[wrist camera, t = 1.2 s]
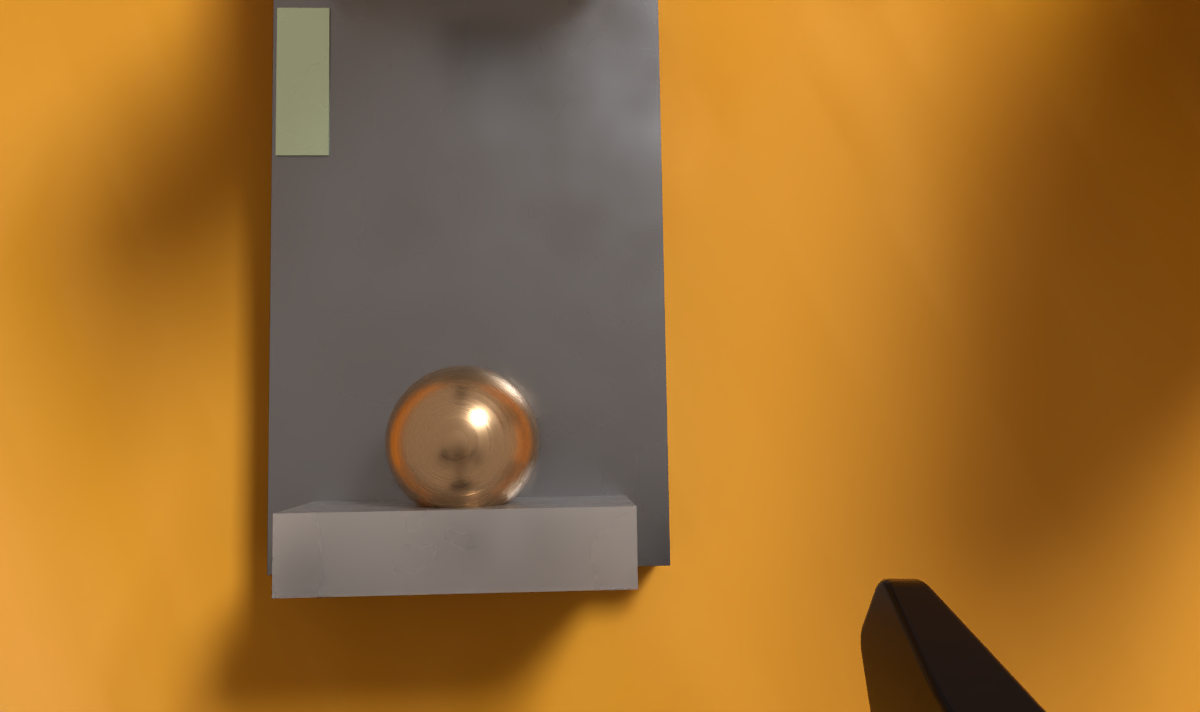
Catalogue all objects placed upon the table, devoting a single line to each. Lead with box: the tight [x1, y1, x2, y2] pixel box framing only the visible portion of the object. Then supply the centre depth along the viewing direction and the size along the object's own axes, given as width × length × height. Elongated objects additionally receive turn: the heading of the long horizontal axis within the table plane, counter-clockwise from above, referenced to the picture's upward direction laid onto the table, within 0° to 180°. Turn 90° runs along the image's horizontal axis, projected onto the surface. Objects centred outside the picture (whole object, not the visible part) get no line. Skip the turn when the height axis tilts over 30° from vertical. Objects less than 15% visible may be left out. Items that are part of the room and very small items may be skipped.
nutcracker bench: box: [267, 0, 670, 598], centre depth 21 cm, size 22×9×5 cm, turn 1°
